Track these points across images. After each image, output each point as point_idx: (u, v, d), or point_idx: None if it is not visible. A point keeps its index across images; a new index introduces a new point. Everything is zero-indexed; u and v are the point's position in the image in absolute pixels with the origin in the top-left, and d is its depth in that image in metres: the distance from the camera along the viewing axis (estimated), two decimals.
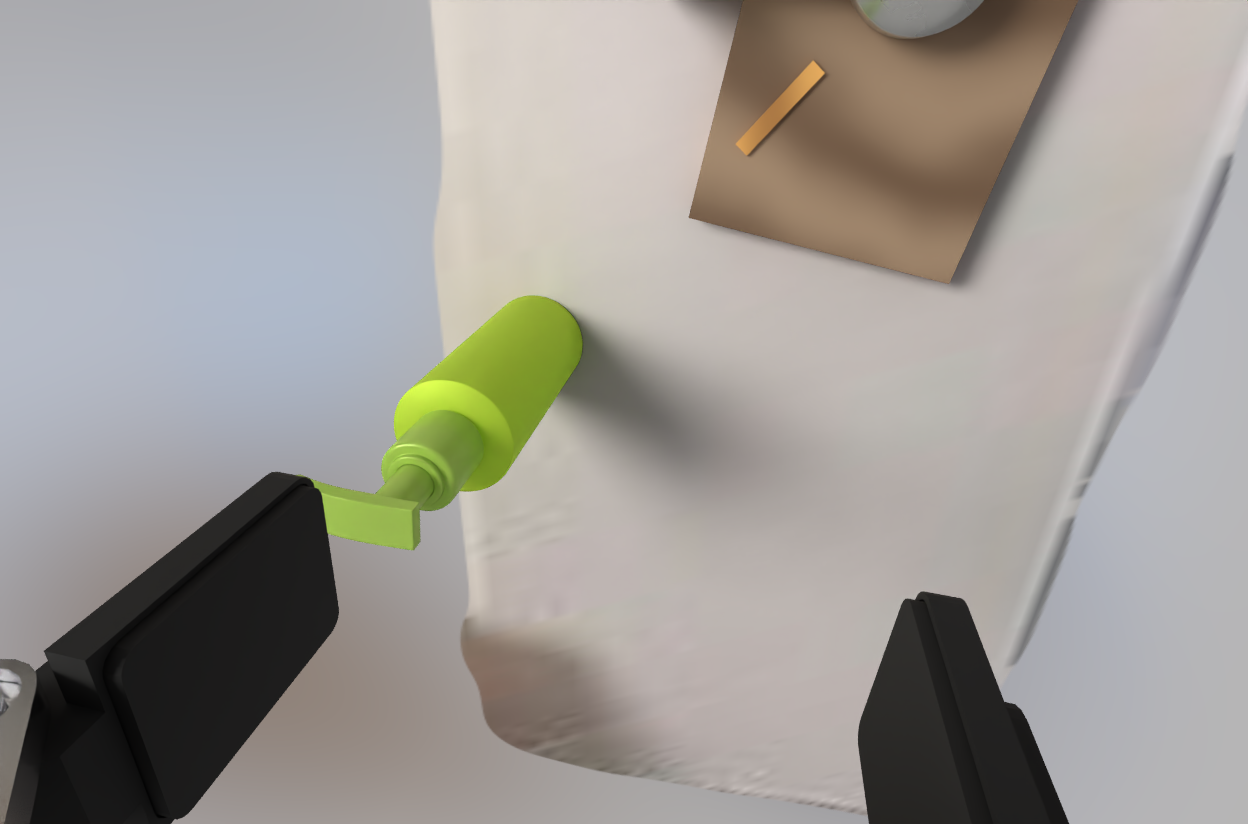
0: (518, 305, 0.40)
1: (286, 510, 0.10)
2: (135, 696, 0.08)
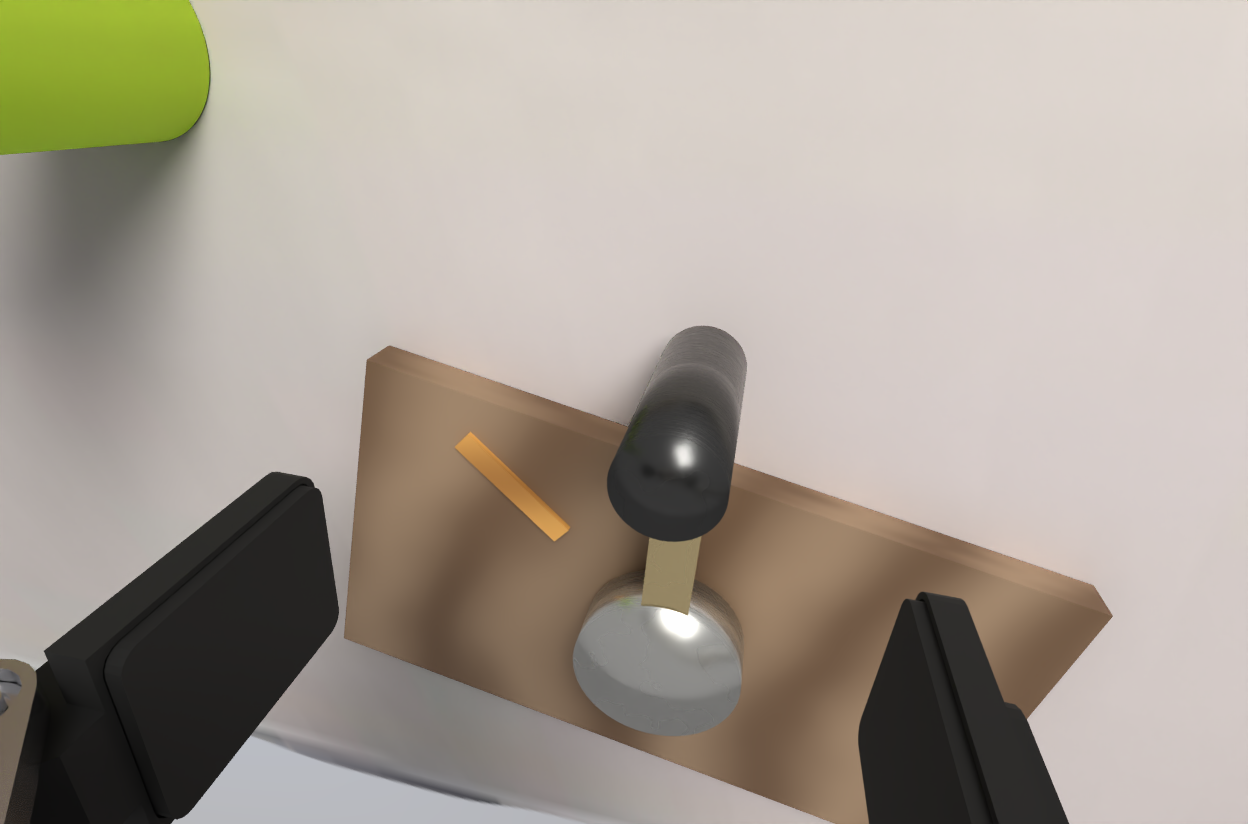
0: (150, 30, 0.19)
1: (286, 510, 0.10)
2: (135, 696, 0.08)
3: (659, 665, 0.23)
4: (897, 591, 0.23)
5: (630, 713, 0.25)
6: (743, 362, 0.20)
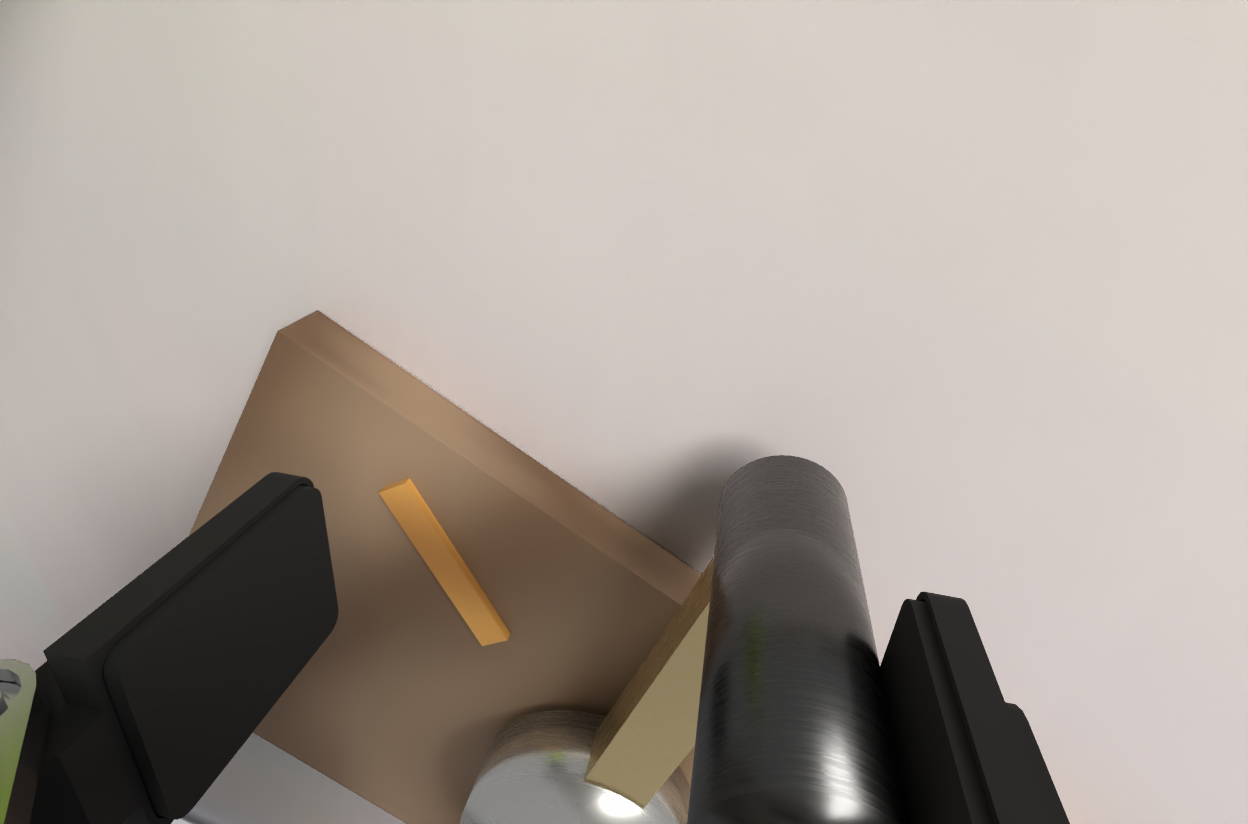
0: None
1: (286, 510, 0.10)
2: (135, 696, 0.08)
3: None
4: None
5: None
6: None
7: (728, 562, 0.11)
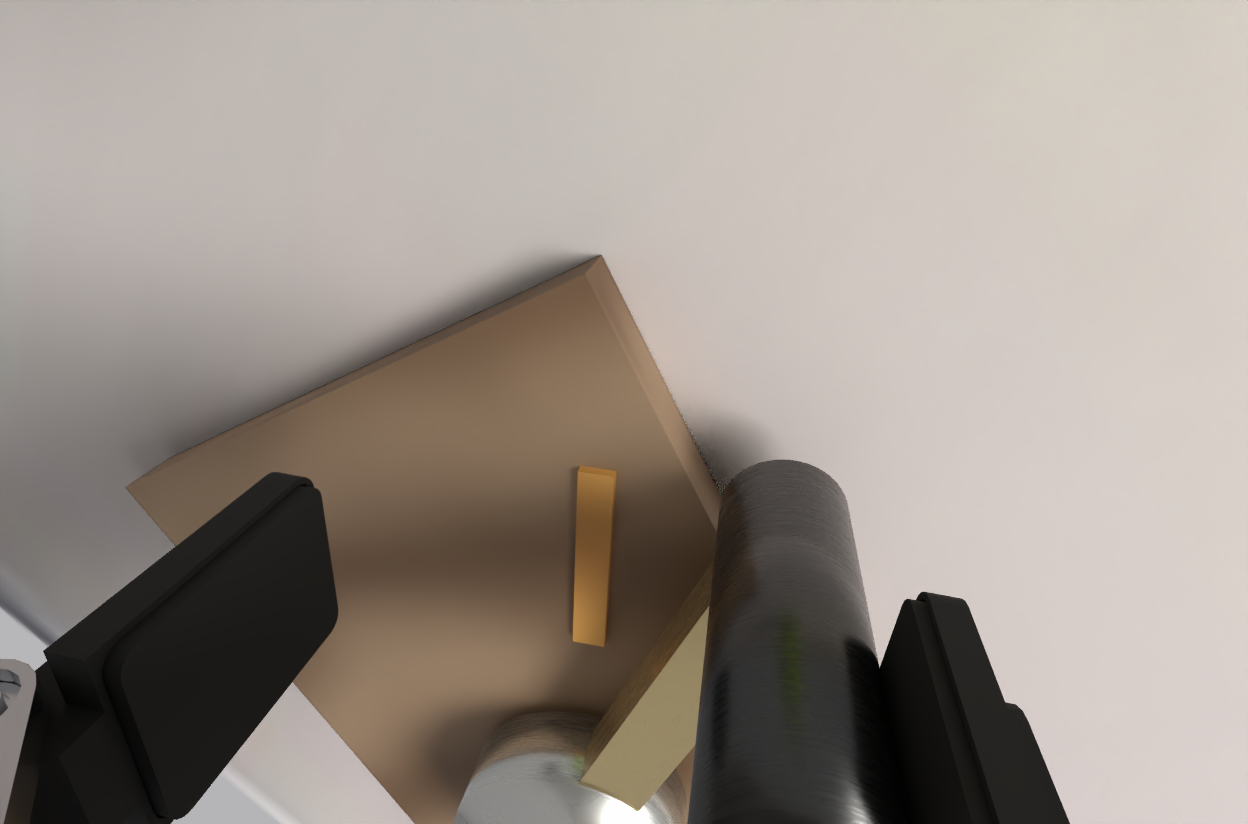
0: None
1: (285, 510, 0.10)
2: (134, 696, 0.08)
3: None
4: None
5: None
6: None
7: (728, 569, 0.11)
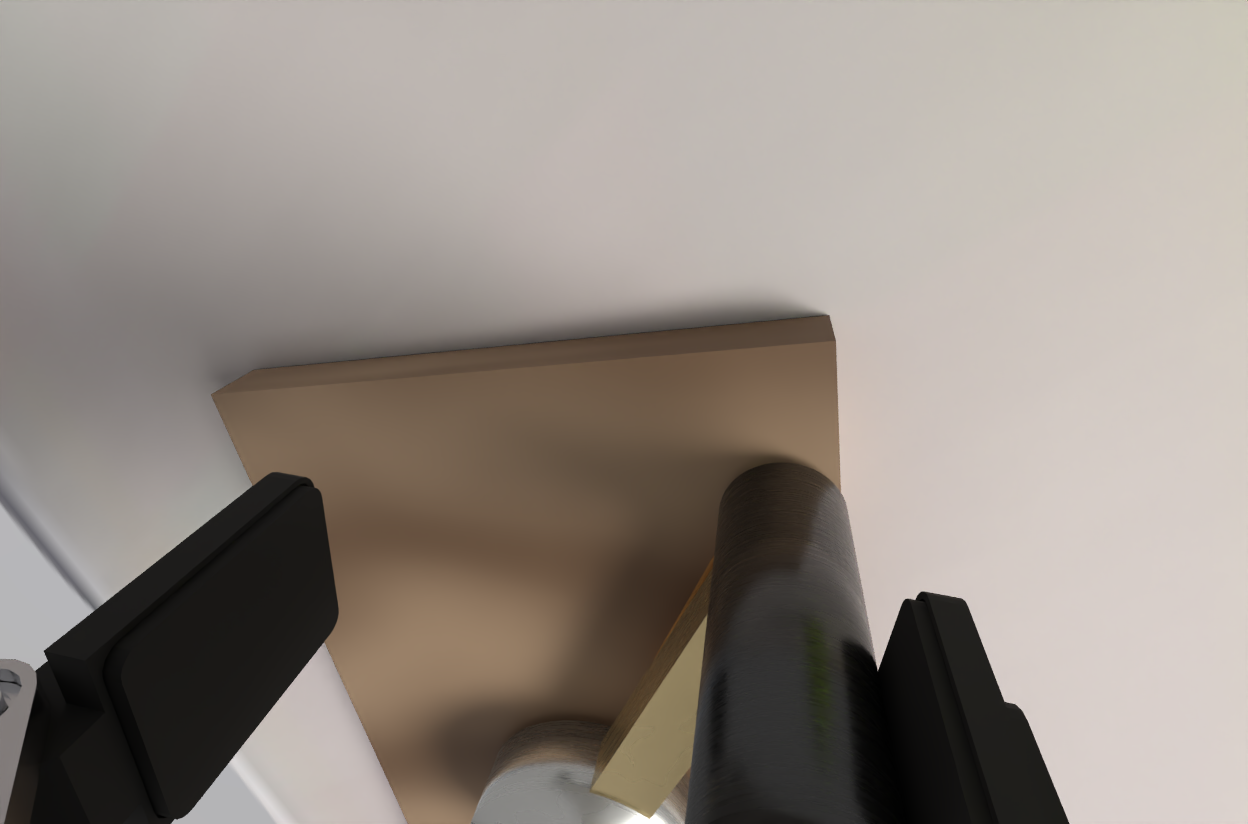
0: None
1: (286, 510, 0.10)
2: (135, 696, 0.08)
3: None
4: None
5: None
6: None
7: (725, 572, 0.11)
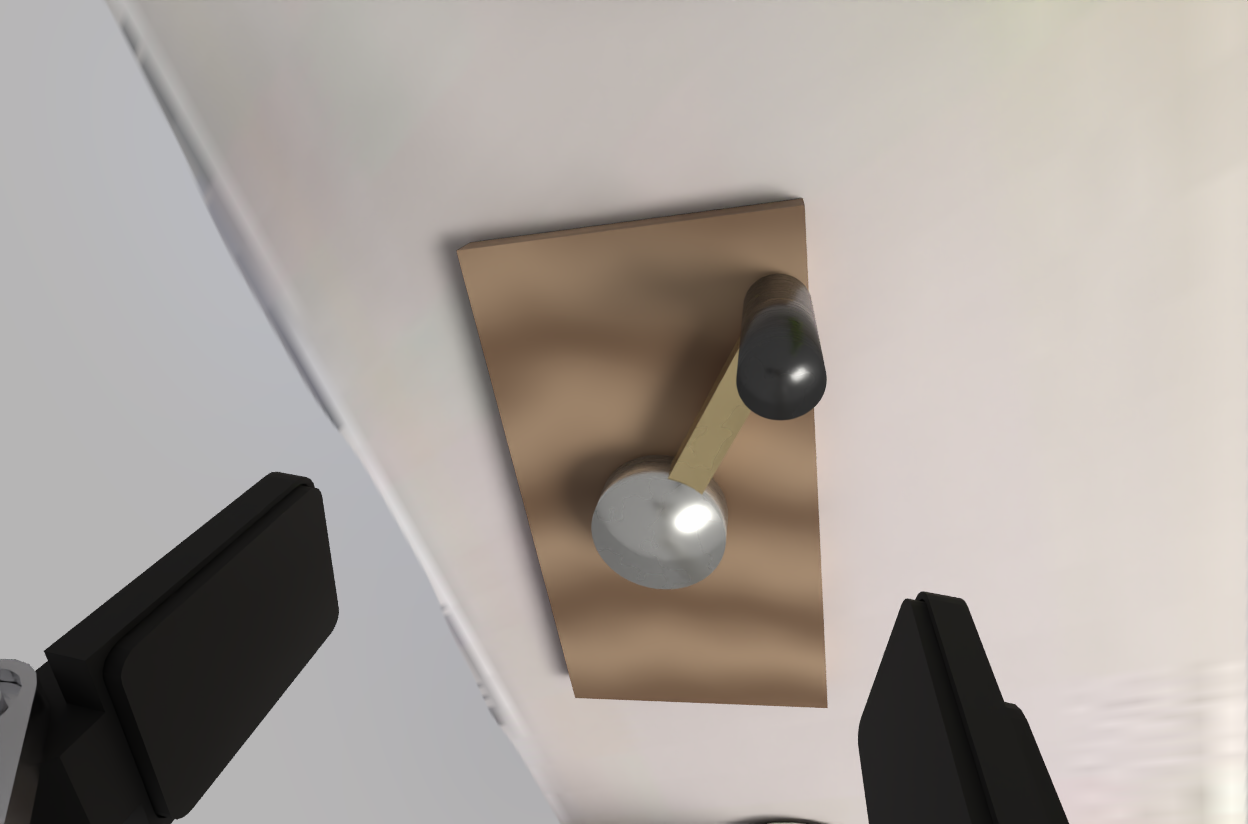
0: None
1: (286, 510, 0.10)
2: (135, 696, 0.08)
3: (664, 529, 0.29)
4: (785, 617, 0.33)
5: (624, 563, 0.31)
6: None
7: (749, 310, 0.23)
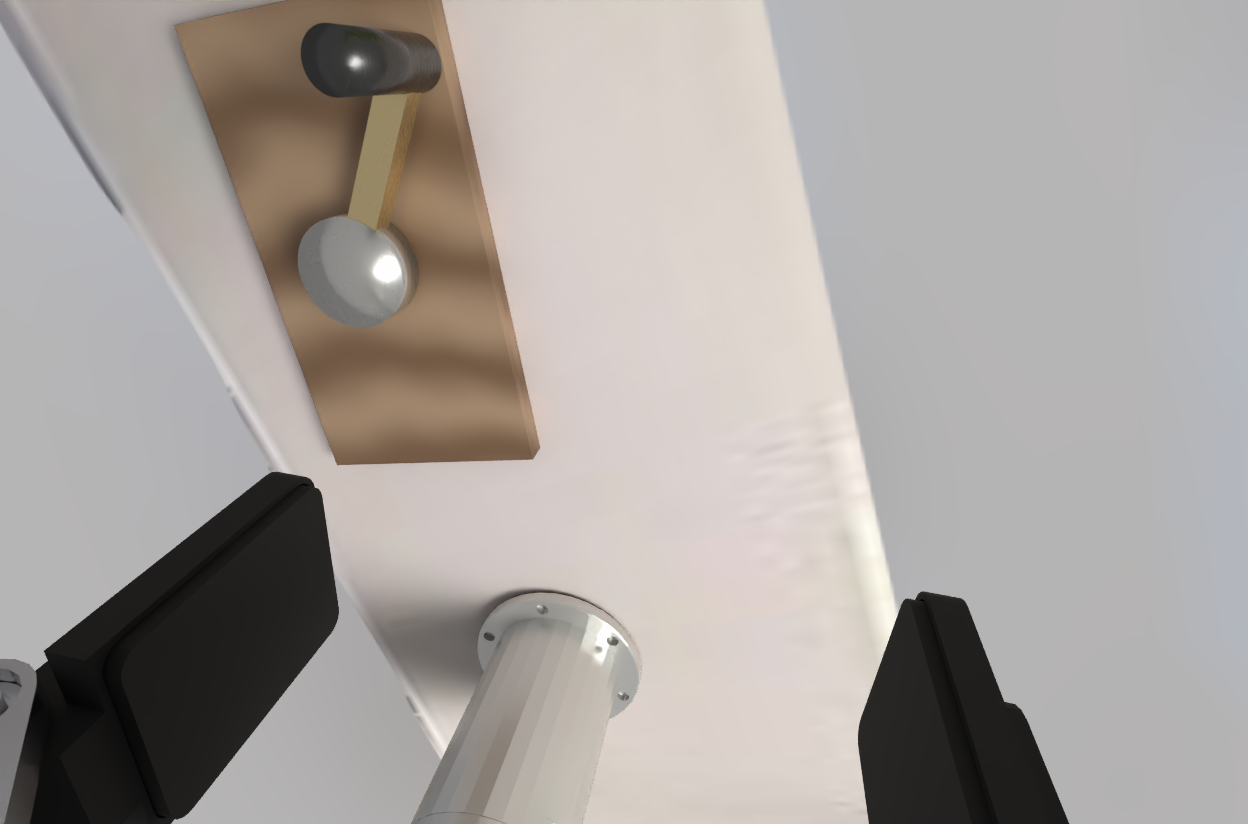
0: None
1: (286, 510, 0.10)
2: (135, 696, 0.08)
3: (353, 267, 0.36)
4: (483, 369, 0.40)
5: (330, 304, 0.37)
6: (435, 61, 0.32)
7: None
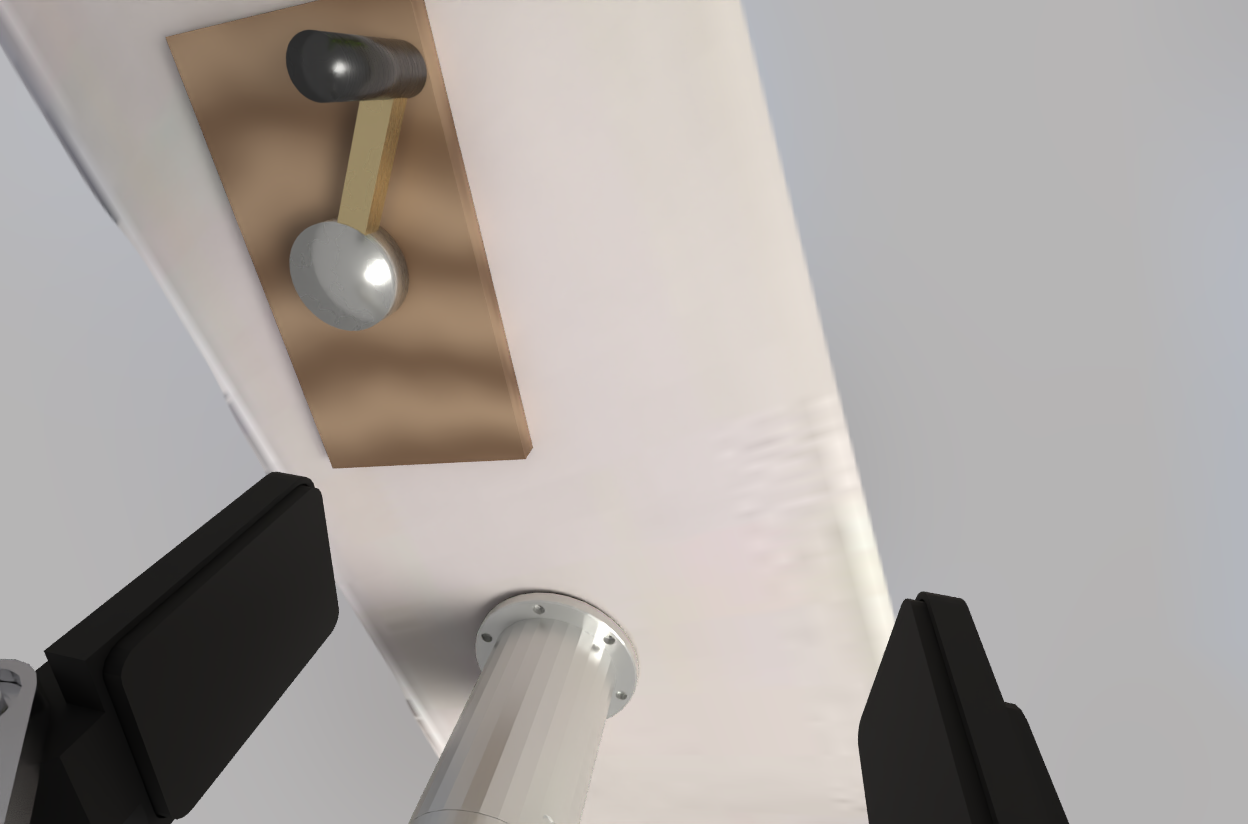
0: None
1: (286, 510, 0.10)
2: (135, 696, 0.08)
3: (344, 270, 0.36)
4: (474, 370, 0.40)
5: (322, 308, 0.38)
6: (420, 67, 0.32)
7: None
